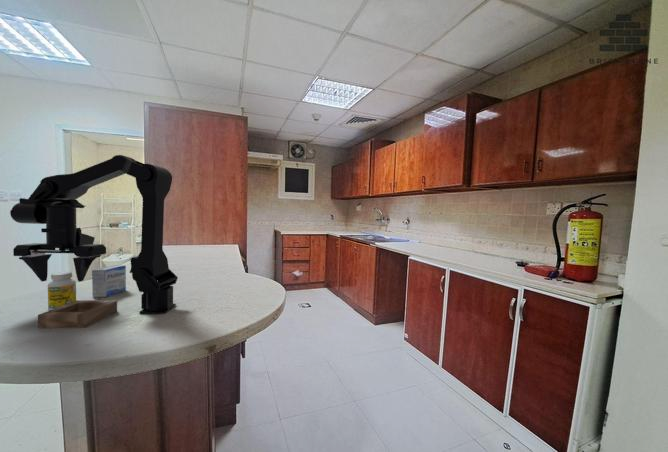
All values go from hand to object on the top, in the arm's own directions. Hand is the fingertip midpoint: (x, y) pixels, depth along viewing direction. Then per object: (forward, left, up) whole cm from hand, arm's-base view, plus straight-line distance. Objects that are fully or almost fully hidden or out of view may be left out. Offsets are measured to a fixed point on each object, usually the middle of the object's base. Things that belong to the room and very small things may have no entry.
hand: (62, 281), depth 71 cm
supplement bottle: (0, 0, -8) cm, 8 cm away
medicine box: (-3, -13, -8) cm, 15 cm away
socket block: (-11, +8, -7) cm, 15 cm away
